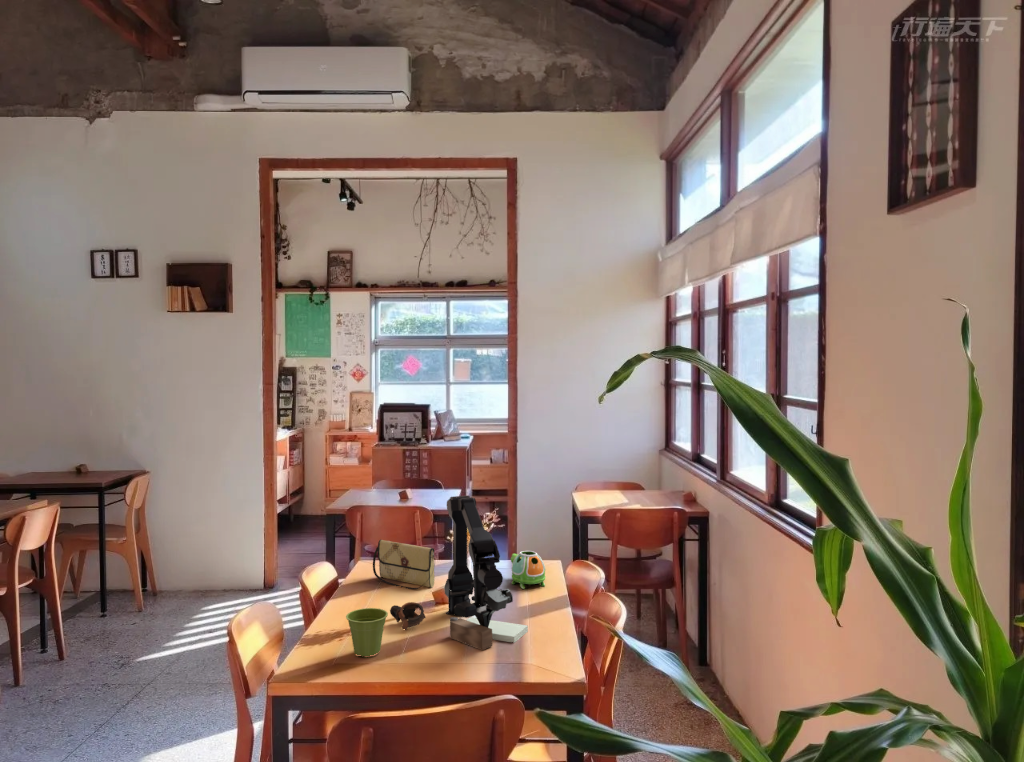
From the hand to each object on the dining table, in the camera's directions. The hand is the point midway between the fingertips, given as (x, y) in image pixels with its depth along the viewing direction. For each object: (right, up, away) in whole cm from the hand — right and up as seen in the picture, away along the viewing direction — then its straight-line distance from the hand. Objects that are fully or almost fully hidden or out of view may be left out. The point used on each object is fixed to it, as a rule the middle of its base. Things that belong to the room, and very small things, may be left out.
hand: (485, 631), depth 218 cm
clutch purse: (-33, -3, +59) cm, 68 cm away
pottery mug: (-25, -4, +15) cm, 30 cm away
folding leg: (-5, -3, 0) cm, 6 cm away
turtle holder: (+13, -2, +57) cm, 59 cm away
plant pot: (-34, -4, -7) cm, 35 cm away
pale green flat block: (+2, -3, +8) cm, 8 cm away
